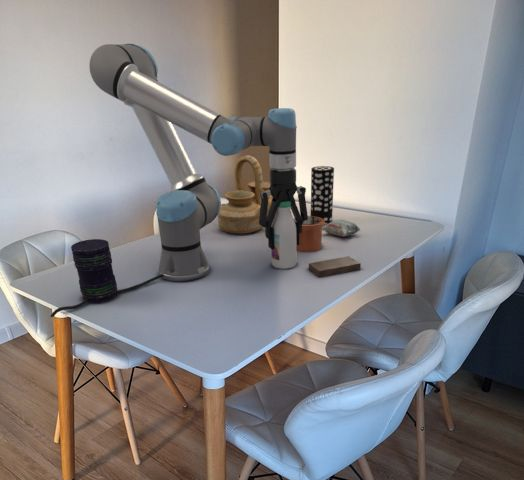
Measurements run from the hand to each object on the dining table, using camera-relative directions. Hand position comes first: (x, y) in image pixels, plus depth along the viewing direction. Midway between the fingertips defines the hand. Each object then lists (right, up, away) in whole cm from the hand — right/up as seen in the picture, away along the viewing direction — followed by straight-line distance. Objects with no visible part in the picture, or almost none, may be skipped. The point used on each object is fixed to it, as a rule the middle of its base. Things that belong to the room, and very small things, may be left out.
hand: (283, 245), depth 157 cm
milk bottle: (0, -6, +3) cm, 6 cm away
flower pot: (+9, +3, +17) cm, 19 cm away
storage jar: (-52, -17, -13) cm, 56 cm away
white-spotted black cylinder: (+16, +18, +42) cm, 49 cm away
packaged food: (+21, +9, +27) cm, 36 cm away
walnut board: (+15, -8, -2) cm, 17 cm away
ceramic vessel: (-10, +18, +44) cm, 48 cm away
